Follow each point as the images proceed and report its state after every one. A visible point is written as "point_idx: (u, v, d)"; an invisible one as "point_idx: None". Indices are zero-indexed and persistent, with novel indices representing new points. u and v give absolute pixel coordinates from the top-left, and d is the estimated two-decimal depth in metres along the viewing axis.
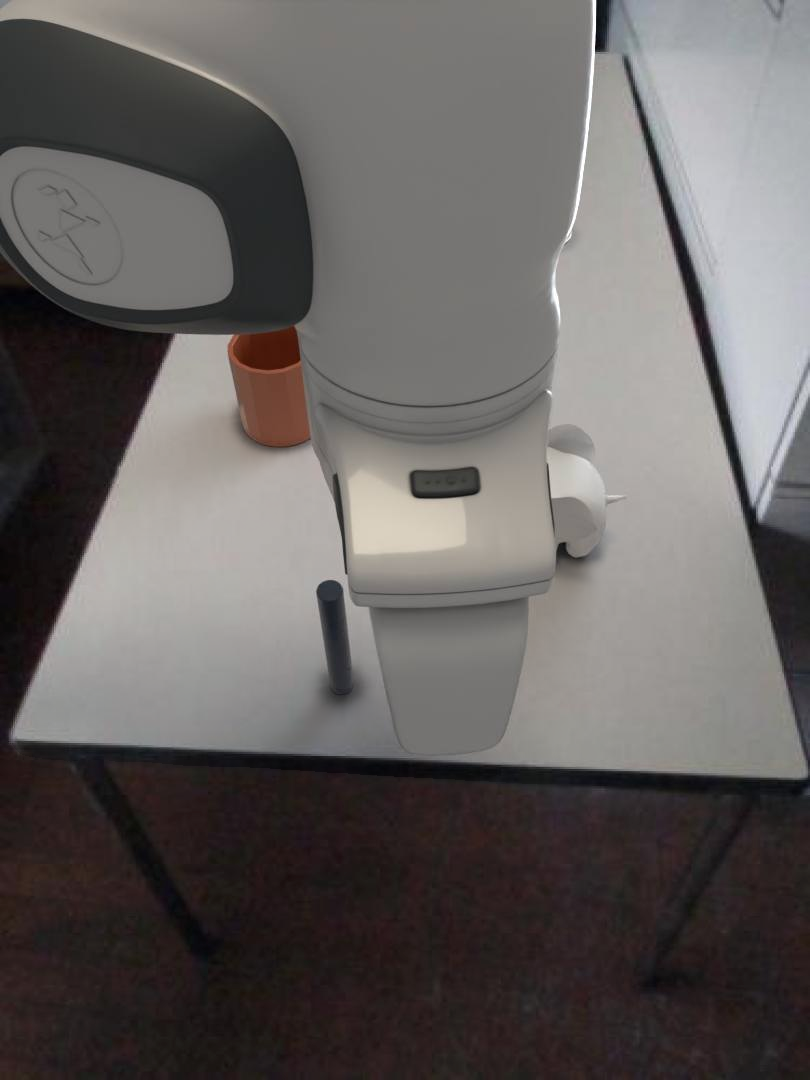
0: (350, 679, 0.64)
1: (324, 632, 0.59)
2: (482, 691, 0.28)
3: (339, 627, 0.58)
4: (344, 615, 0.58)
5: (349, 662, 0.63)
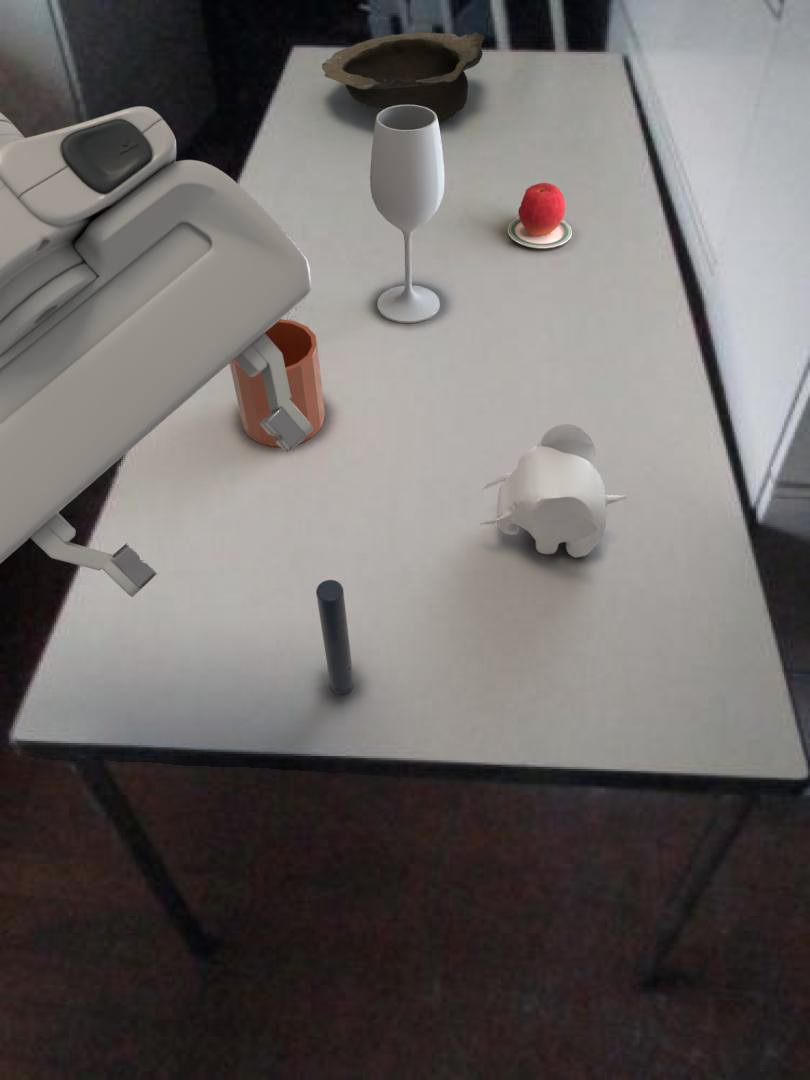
0: (350, 679, 0.64)
1: (324, 632, 0.59)
2: None
3: (339, 627, 0.58)
4: (344, 615, 0.58)
5: (349, 662, 0.63)
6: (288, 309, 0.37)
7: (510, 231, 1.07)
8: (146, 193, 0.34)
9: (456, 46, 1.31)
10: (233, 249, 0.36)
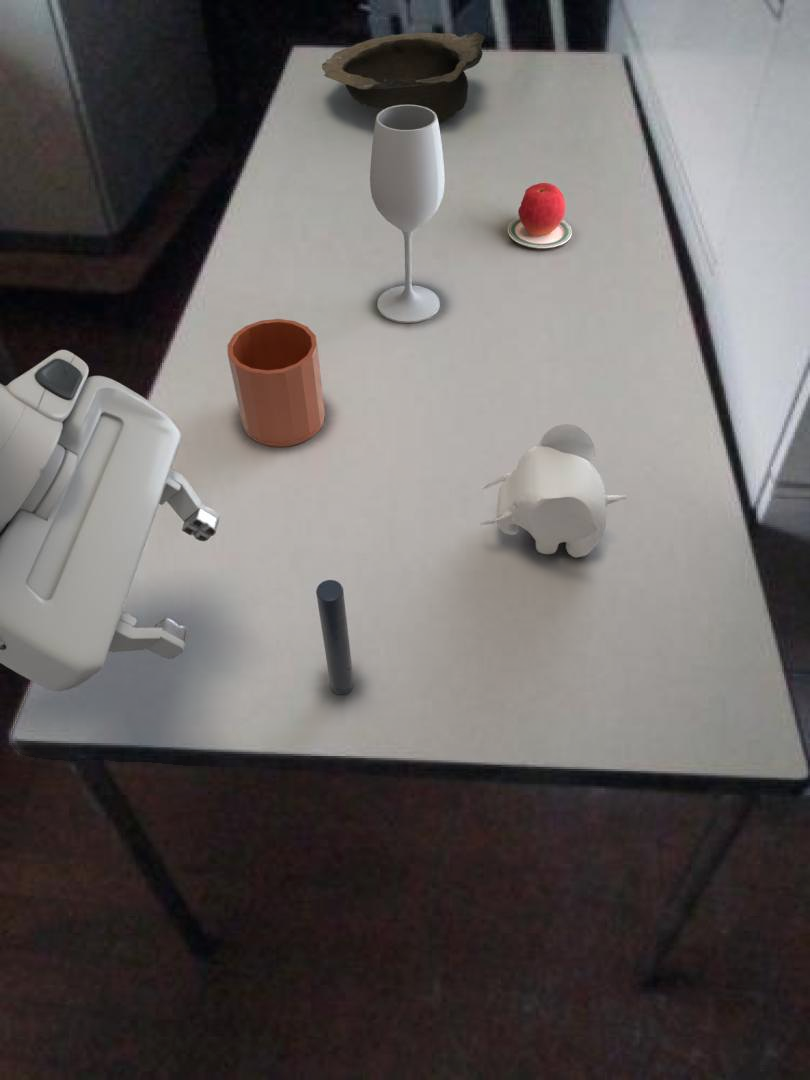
0: (350, 679, 0.64)
1: (324, 632, 0.59)
2: None
3: (339, 627, 0.58)
4: (344, 615, 0.58)
5: (349, 662, 0.63)
6: (177, 449, 0.57)
7: (510, 231, 1.07)
8: (85, 397, 0.52)
9: (456, 46, 1.31)
10: (135, 422, 0.55)
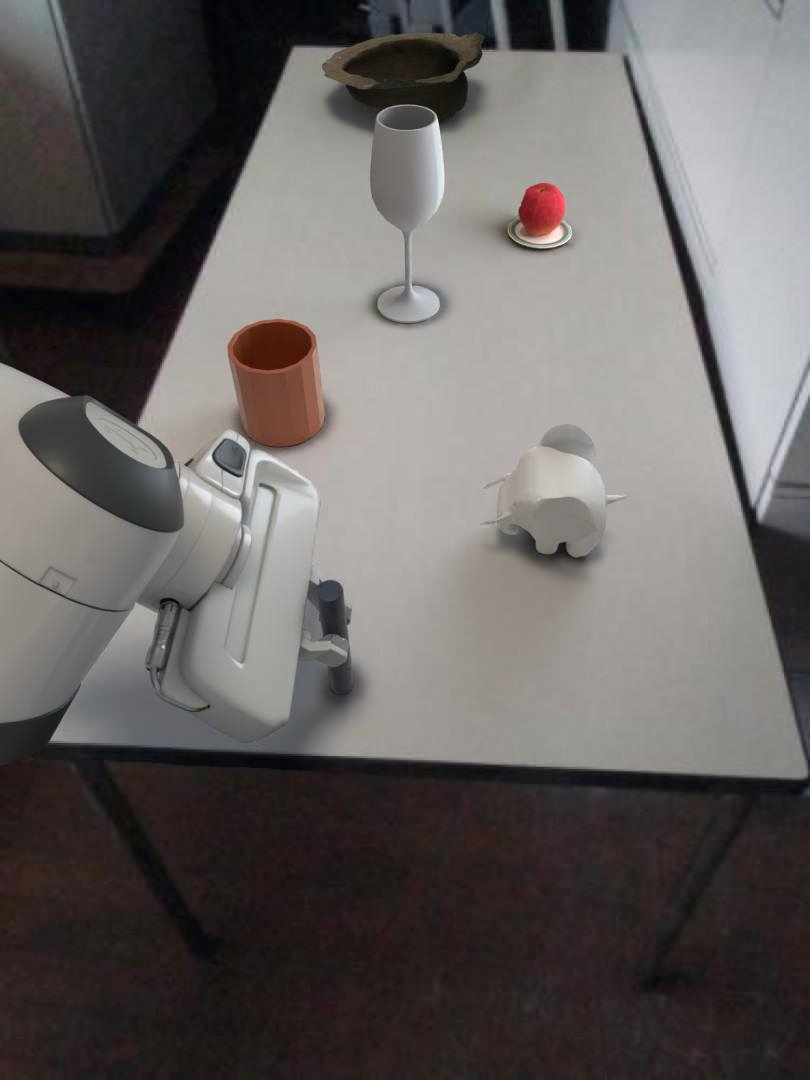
0: (350, 679, 0.64)
1: (324, 632, 0.59)
2: None
3: (340, 627, 0.58)
4: (344, 615, 0.58)
5: (349, 662, 0.63)
6: None
7: (510, 231, 1.07)
8: (249, 472, 0.57)
9: (456, 46, 1.31)
10: (285, 489, 0.60)
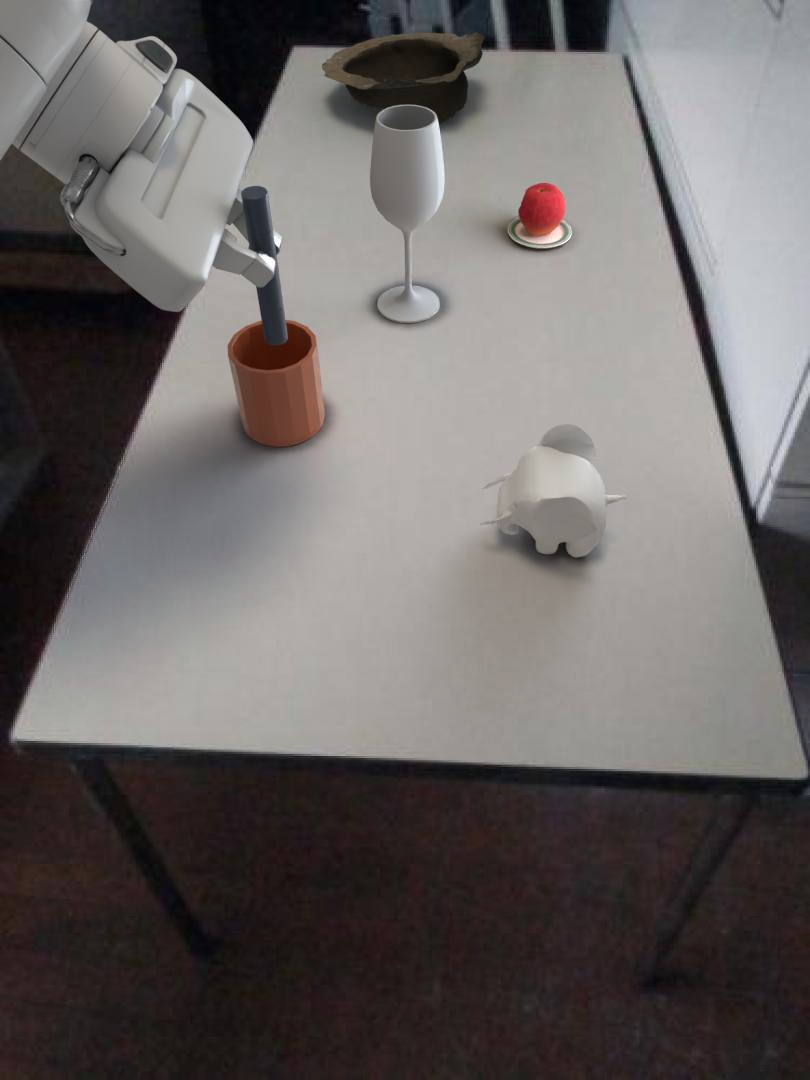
0: (283, 326, 0.65)
1: None
2: None
3: (266, 242, 0.59)
4: (270, 228, 0.59)
5: (280, 300, 0.63)
6: (250, 151, 0.63)
7: (510, 231, 1.07)
8: (175, 80, 0.58)
9: (456, 46, 1.31)
10: (215, 117, 0.61)
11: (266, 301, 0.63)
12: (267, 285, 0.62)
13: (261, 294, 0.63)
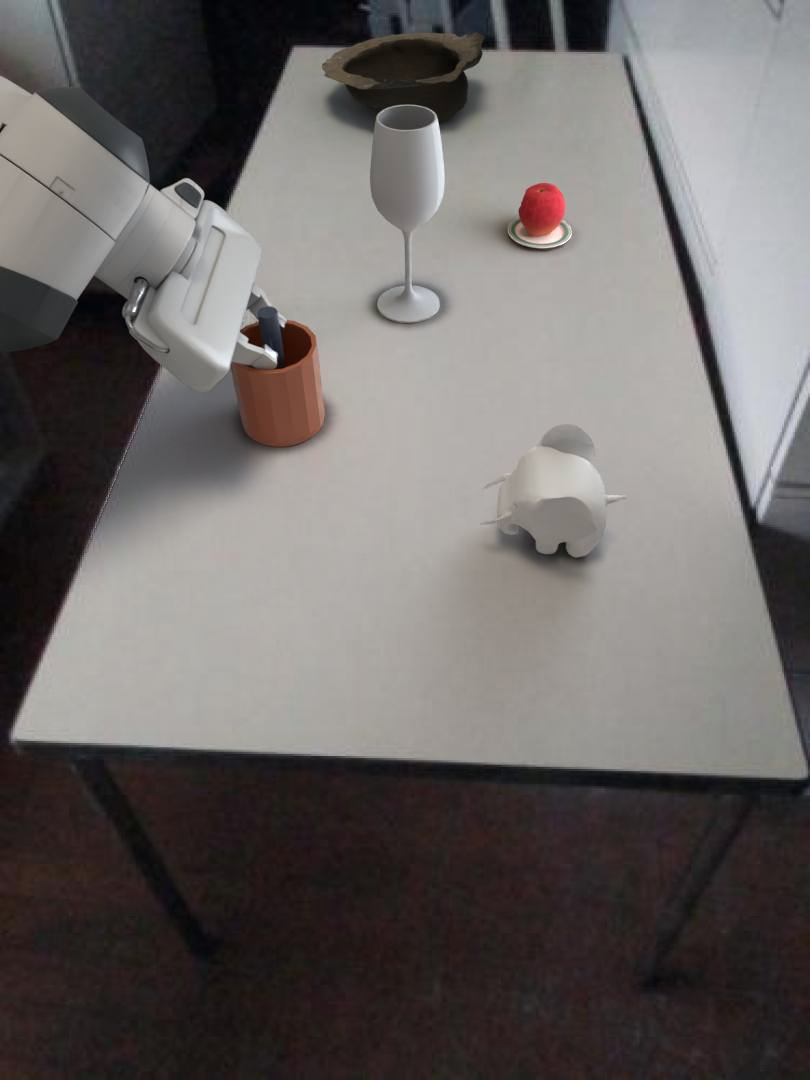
0: None
1: None
2: None
3: (276, 347, 0.78)
4: (279, 336, 0.78)
5: None
6: None
7: (510, 231, 1.07)
8: (203, 211, 0.76)
9: (456, 46, 1.31)
10: (233, 235, 0.79)
11: None
12: None
13: None
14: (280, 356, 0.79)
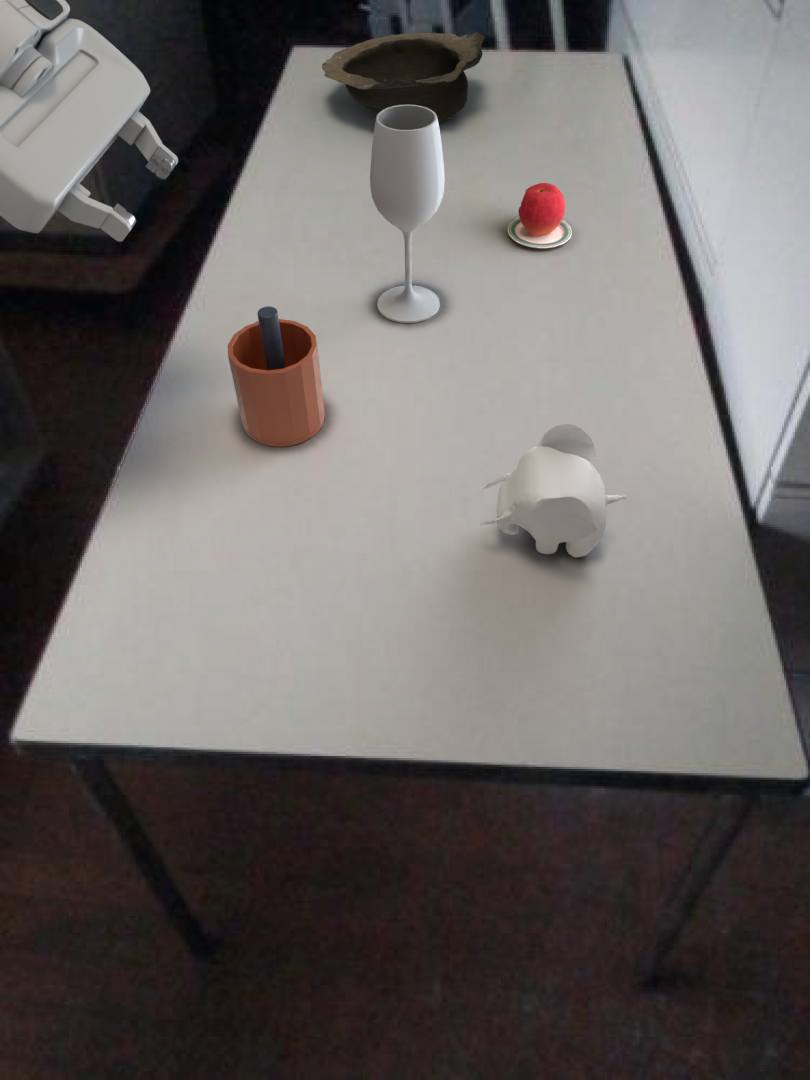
0: None
1: (265, 353, 0.79)
2: None
3: (276, 347, 0.78)
4: (279, 336, 0.78)
5: None
6: (144, 97, 0.69)
7: (510, 231, 1.07)
8: (65, 27, 0.64)
9: (456, 46, 1.31)
10: (109, 65, 0.67)
11: None
12: None
13: None
14: (280, 356, 0.79)
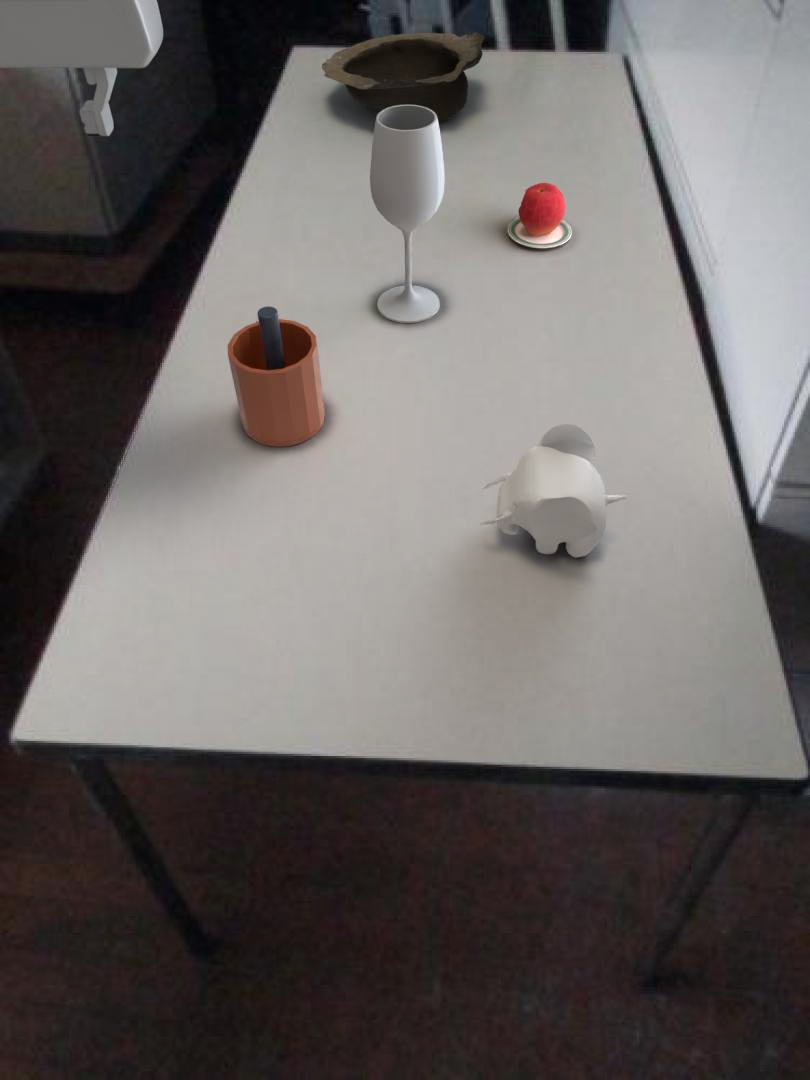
0: None
1: (265, 353, 0.79)
2: None
3: (276, 347, 0.78)
4: (279, 336, 0.78)
5: None
6: (122, 67, 0.54)
7: (510, 231, 1.07)
8: None
9: (456, 46, 1.31)
10: (102, 10, 0.51)
11: None
12: None
13: None
14: (280, 356, 0.79)
